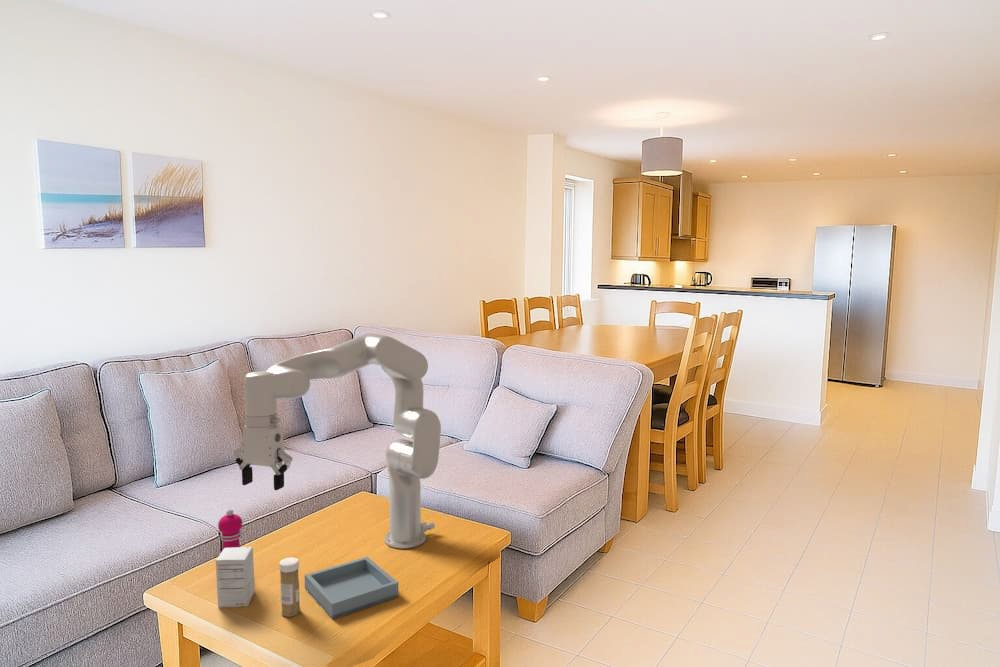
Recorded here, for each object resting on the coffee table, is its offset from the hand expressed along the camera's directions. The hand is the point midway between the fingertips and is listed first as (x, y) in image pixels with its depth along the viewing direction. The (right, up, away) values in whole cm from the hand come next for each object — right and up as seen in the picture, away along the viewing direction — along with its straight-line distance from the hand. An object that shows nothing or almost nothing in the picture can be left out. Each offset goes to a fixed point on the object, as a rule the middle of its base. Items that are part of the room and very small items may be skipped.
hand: (263, 486), depth 170 cm
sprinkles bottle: (+9, -30, -6) cm, 32 cm away
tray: (+22, -29, +4) cm, 36 cm away
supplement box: (-7, -29, 0) cm, 30 cm away
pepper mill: (-12, -28, +10) cm, 32 cm away
